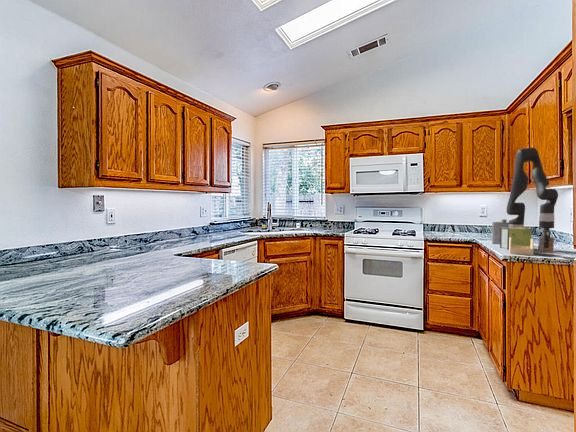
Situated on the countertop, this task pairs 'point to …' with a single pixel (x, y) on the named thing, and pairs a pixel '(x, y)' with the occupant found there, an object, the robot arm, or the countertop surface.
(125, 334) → the countertop surface
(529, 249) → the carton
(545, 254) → the mat
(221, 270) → the countertop surface
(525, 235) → the protein box
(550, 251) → the walnut block
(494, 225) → the hip flask
